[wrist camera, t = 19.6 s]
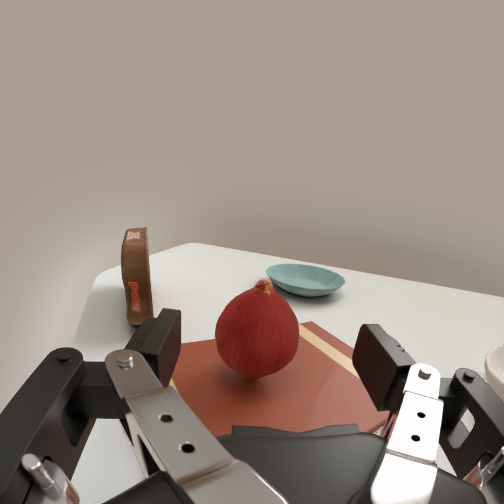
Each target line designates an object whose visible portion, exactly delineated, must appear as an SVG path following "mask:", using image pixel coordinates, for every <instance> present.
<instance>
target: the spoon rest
mask: <svg viewBox="0 0 504 504" xmlns="http://www.w3.org/2000/svg"><path fill="white" fill-rule="evenodd" d="M485 372H486V378H487V382H488V385H489V386H490V387H491V388H492V390H493V391H494V392H495V393H496V394H497V395H498V396H499V397H500V398H501V400H502V401H503V402H504V344H503V345H499V346H496V347H494V348H493V349H491V350H490V351H489V353H488V354H487V355H486V358H485Z"/></svg>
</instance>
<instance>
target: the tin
mask: <svg viewBox="0 0 504 504" xmlns="http://www.w3.org/2000/svg"><path fill="white" fill-rule="evenodd" d="M121 252H122V253H121V269H122V279H123V284H124V287H125V293H126V301H127V319H128V322H129V324H130V325H140V324H141V323H142V322H143V321H145V320H147V319H148V318H150V317H152V318H154V316H153V305H152V294H151V282H150V268H149V267H150V266H149V254H148V237H147V227H145V228H133V229H128V230H127V231H126V233H125V236H124V240H123V244H122V251H121Z"/></svg>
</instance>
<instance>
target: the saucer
mask: <svg viewBox="0 0 504 504" xmlns="http://www.w3.org/2000/svg"><path fill="white" fill-rule="evenodd" d="M266 272H267V275H268V276H269V277H270V278H271V280H272V281H273V282H274V283H275V284H277V285H278V286H279V287H281V288H282V289H284V290H285V291H287V292H290V293H293V294H296V295H300V296H307V297H316V296H322V295H326V294H329V293H331V292H334V291H335V290H337V289H339V288H340V287H341V286H343V285H344V284H345V280H344V278H343V277H342V276H340V275H339V274H337V273H335V272H332V271H330V270H327V269H323V268H320V267H315V266H309V265H302V264H280V265H274V266H271V267H269V268H268V269H267V271H266Z"/></svg>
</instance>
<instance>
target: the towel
mask: <svg viewBox="0 0 504 504" xmlns="http://www.w3.org/2000/svg"><path fill="white" fill-rule="evenodd" d="M353 351H354V349H353V348H351V347H350V346H348V345H347V344H345V343H344V342H342V341H341V340H339V339H338V338H336V337H335V336H333V335H331V334H330V333H328V332H327V331H325V330H324V329H322V328H321V327H319V326H318V325H316V324H315V323H313V322H312V321H311V322H306V323H301V324H299V342H298V349H297V352H296V354H295V356H294V358H293V360H292V361H291V362H290V363H289V364H287V365H286V366H285V367H284V368H283V369H281V370H280V371H278V372H276V373H274V374H271V375H268V376H265V377H262V378H259V379H257V380H249V379H247V378H245V377H244V376H243V375H241V374H239V373H237V372H235V371H234V370H232V369H231V368H229V367H228V366H227V365H226V364H225V362H224V361H223V360H222V359H221V357H220V355H219V354H218V350H217V344H216V339H212V340H205V341H198V342H190V343H183V344H181V348H180V354H179V357H178V360H177V363H176V366H175V369H174V372H173V375H172V377H171V380H170V383H169V386H172V387H174V388H175V390H176V391H177V392H178V394H179V395H180V396H181V397H182V399H183V400H184V401H185V403H186V404H187V405H188V406H189V408H190V409H191V410H192V411H193V412H194V414H195V415H196V416H197V417H198V418H199V420H200V421H201V422H202V423H203V424H204V426H205V427H206V428H207V429H208V430H209V431H210V432H211V434H212V435H213V436H214V437H215V436H219V435H224V434H231V431H232V425H244V426H265V427H270V428H275V429H280V430H285V431H291V432H298V433H299V432H305V431H309V430H313V429H318V428H321V427H325V426H330V425H344V424H355V423H357V425H358V428H359V430H360V432H367V433H371V432H373V431H374V430H376V429H377V428H379V427H380V426H381V425H383V424H384V423H385V421H386V419H387V417H388V415H389V413H390V411H382V412H378V411H377V409H376V407H375V406H374V404H373V402H372V400H371V398H370V396H369V394H368V392H367V391H366V389H365V387H364V385H363V383H362V381H361V380H360V378H359V376H358V374H357V372H356V370H355V369H354V367H353V364H352V355H353Z"/></svg>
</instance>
